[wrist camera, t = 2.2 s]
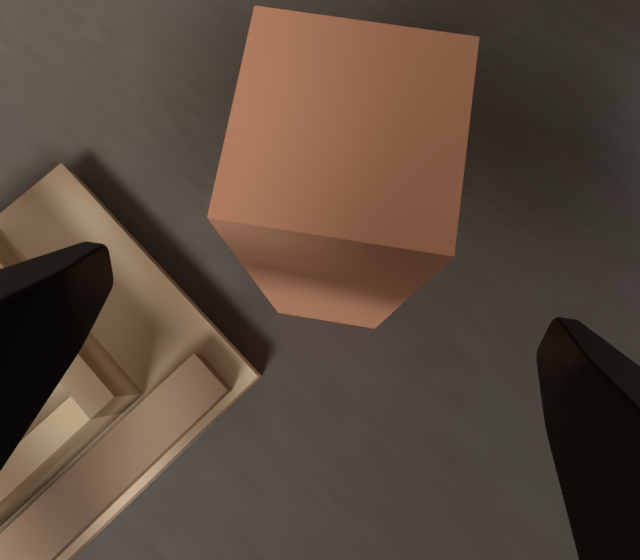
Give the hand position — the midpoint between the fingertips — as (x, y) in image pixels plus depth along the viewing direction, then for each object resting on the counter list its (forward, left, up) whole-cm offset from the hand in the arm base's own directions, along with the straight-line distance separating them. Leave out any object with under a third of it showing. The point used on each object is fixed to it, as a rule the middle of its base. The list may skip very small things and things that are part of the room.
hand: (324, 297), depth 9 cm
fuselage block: (+2, +2, -10) cm, 10 cm away
